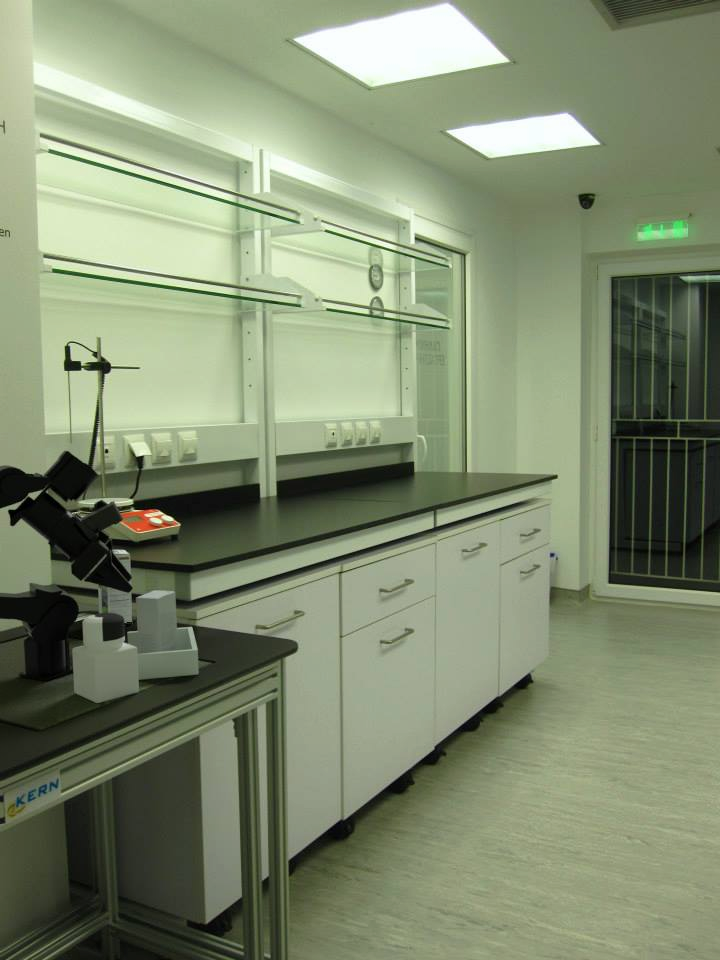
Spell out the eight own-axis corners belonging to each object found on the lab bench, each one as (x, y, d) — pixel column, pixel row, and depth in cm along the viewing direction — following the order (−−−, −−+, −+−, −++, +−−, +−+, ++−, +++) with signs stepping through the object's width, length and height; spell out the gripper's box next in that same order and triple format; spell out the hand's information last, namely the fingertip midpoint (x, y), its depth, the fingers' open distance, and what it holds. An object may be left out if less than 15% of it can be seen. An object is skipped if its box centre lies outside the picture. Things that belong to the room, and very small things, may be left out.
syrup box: (98, 622, 181) (95, 551, 180) (128, 618, 183) (125, 548, 182) (103, 628, 176) (100, 555, 174) (133, 624, 178) (130, 552, 177)
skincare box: (156, 658, 154) (154, 589, 153) (179, 660, 153) (176, 590, 152) (137, 668, 149) (134, 597, 147) (160, 670, 147) (157, 598, 146)
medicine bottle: (115, 682, 141) (112, 607, 140) (139, 692, 136) (136, 614, 135) (73, 693, 136) (69, 615, 135) (96, 704, 131) (92, 623, 130)
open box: (127, 680, 142) (126, 655, 142) (128, 654, 157) (127, 631, 157) (198, 674, 145) (197, 650, 144) (192, 648, 160) (192, 626, 159)
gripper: (88, 492, 137) (166, 557, 141) (92, 481, 155) (161, 540, 159) (37, 547, 136) (117, 611, 140) (47, 530, 154) (117, 587, 158)
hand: (130, 584), depth 149 cm, fingers open, 9 cm apart
